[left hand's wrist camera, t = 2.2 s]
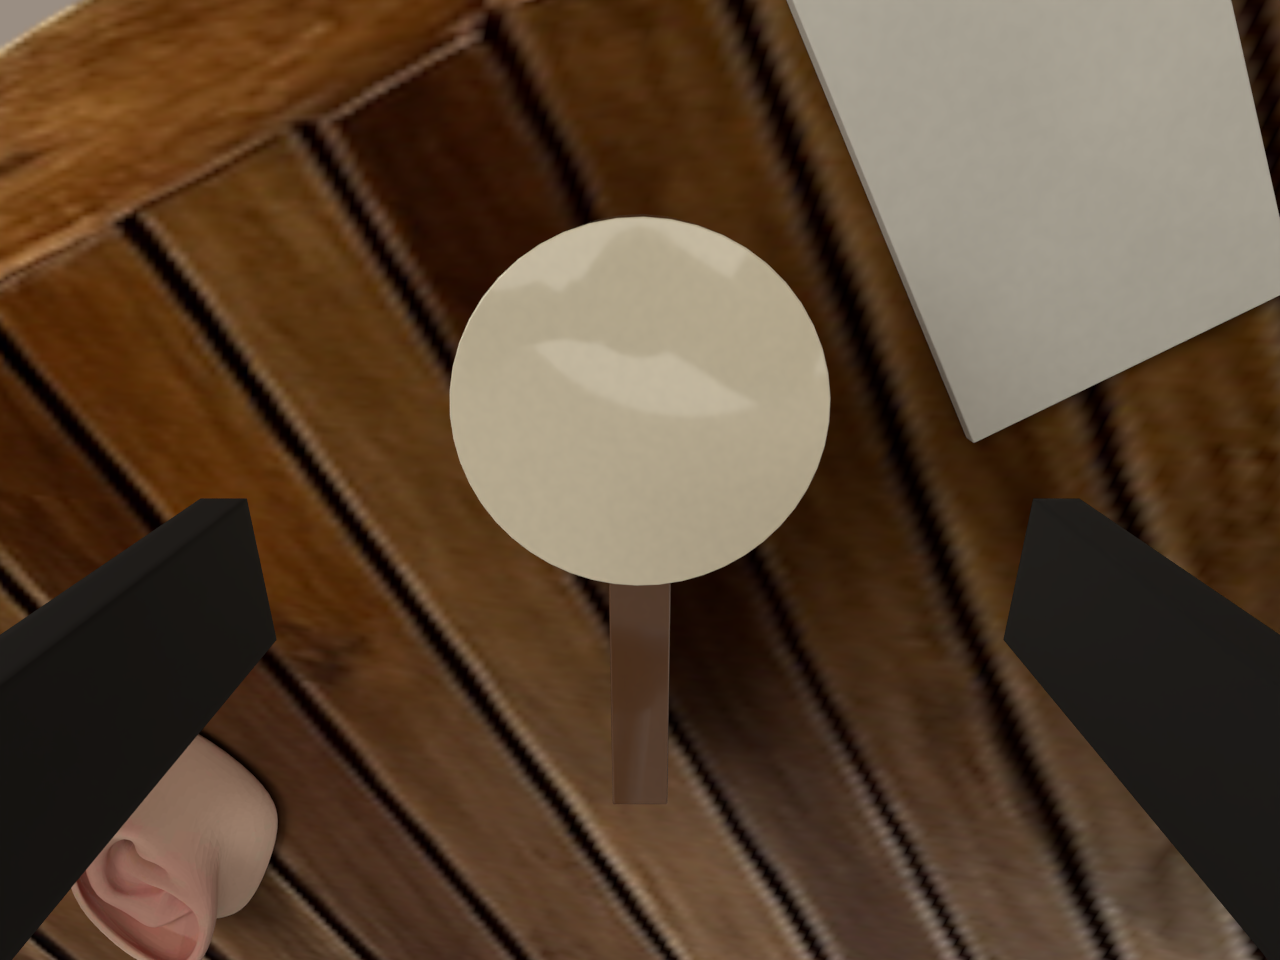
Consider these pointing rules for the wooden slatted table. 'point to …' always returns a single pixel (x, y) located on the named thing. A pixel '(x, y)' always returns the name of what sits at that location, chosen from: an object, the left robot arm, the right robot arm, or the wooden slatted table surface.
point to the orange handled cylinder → (639, 691)
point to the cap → (639, 400)
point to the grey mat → (1053, 181)
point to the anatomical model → (182, 858)
